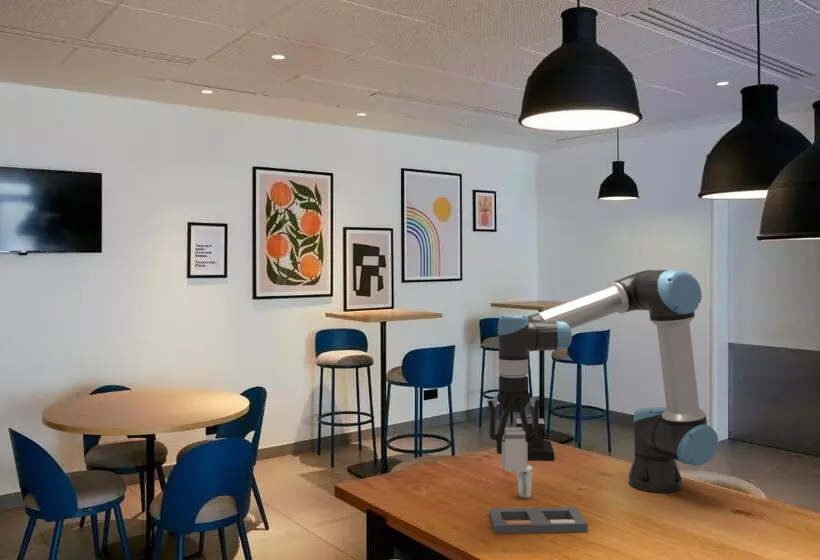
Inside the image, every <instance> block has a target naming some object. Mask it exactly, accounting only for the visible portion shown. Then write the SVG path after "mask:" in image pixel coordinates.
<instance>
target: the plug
mask: <svg viewBox="0 0 820 560" xmlns="http://www.w3.org/2000/svg"><path fill="white" fill-rule="evenodd" d="M525 439H526V435H525V431H524V430H523V428H522V427H517V426H516V427H505V430H504V434H503V438H502V440H504V441H505V468H503V469H504V472H512V473H513V472H516V473H517V472H520V471H526V464H525Z"/></svg>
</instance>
